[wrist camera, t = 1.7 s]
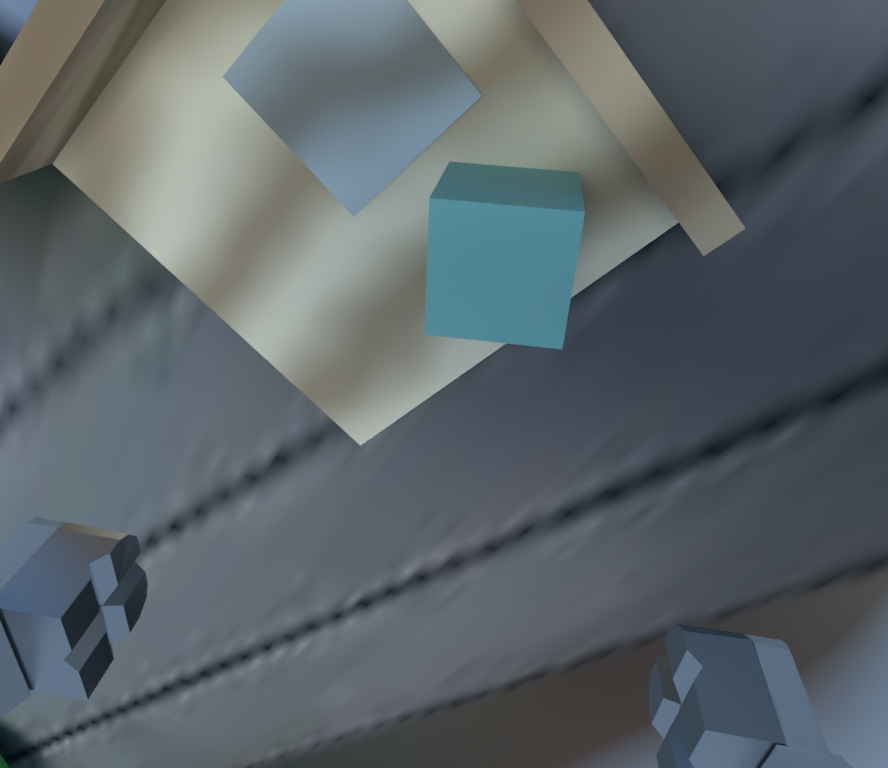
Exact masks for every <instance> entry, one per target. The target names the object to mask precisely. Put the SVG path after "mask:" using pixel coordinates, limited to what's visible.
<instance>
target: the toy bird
mask: <svg viewBox="0 0 888 768" xmlns="http://www.w3.org/2000/svg"><path fill="white" fill-rule="evenodd" d="M0 768H9V766H8V764H7V763H6V761H5V760H4V758H3V757H2V756H1V755H0Z"/></svg>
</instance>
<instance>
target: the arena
mask: <svg viewBox="0 0 888 768" xmlns="http://www.w3.org/2000/svg"><path fill="white" fill-rule="evenodd" d="M449 161H450V162H462V163H474V164H486V165H498V166H510V167H522V168H535V169H547V170H559V171H571V172H579V173H580V180H581V187H582V194H583V201H584V207H585V216H584V222H583V228H582V234H581V240H580V246H579V252H578V258H577V264H576V270H575V276H574V282H573V288H572V294H571V298H572V297H573V296H574V295H576V294H577V293H579V292H580V291H582V290H583V289H584V288H586V287H587V286H589V285H590V284H592V283H593V282H594V281H596V280H597V279H599V278H600V277H601V276H603V275H604V274H606V273H607V272H609V271H610V270H611V269H613V268H614V267H616V266H617V265H619V264H620V263H621V262H623V261H624V260H626V259H627V258H629V257H630V256H631V255H633V254H634V253H636V252H637V251H639V250H640V249H641V248H643V247H644V246H646V245H647V244H649V243H650V242H651V241H653V240H654V239H656V238H657V237H658V236H660V235H661V234H663V233H664V232H666V231H667V230H668V229H670V228H671V227H673V226H674V225H676V224H677V223H678V222H679V223H680V225H681V226H682V227H683V229H684V230H685V231H686V233H687V234H688V236H689V237H690V238H691V240H692V241H693V242H694V244H695V245H696V246H697V248H698V249H699V251H700V252H701V253H702V255H703V256H705V255H706V254H708V253H709V252H711V251H712V250H714V249H715V248H717V247H718V246H720V245H721V244H723V243H725V242H726V241H728V240H729V239H731V238H732V237H734V236H735V235H737V234H738V233H740V232H741V231H743V230H744V229H746V228H745V227H744V225H743V224H742V222H741V221H740V220H739V218H738V217H737V215H736V214H735V212H734V211H733V209H732V208H731V207H730V205H729V204H728V202H727V201H726V199H725V198H724V196H723V195H722V194H721V192H720V191H719V189H718V188H717V186H716V185H715V183H714V182H713V181H712V179H711V178H710V176H709V175H708V173H707V172H706V170H705V169H704V168H703V166H702V165H701V163H700V162H699V160H698V159H697V157H696V156H695V155H694V153H693V152H692V150H691V149H690V147H689V146H688V144H687V143H686V142H685V140H684V139H683V137H682V136H681V134H680V133H679V131H678V130H677V129H676V127H675V126H674V124H673V123H672V121H671V120H670V118H669V117H668V116H667V114H666V113H665V111H664V110H663V108H662V107H661V105H660V104H659V103H658V101H657V100H656V98H655V97H654V95H653V94H652V92H651V91H650V90H649V88H648V87H647V85H646V84H645V82H644V81H643V79H642V78H641V77H640V75H639V74H638V72H637V71H636V69H635V68H634V66H633V65H632V64H631V62H630V61H629V59H628V58H627V56H626V55H625V53H624V52H623V51H622V49H621V48H620V46H619V45H618V43H617V42H616V40H615V39H614V38H613V36H612V35H611V33H610V32H609V30H608V29H607V27H606V26H605V25H604V23H603V22H602V20H601V19H600V17H599V16H598V14H597V13H596V12H595V10H594V9H593V7H592V6H591V4H590V3H589V1H588V0H39V1H38V2H37V4H36V6H35V8H34V9H33V11H32V13H31V14H30V16H29V18H28V20H27V21H26V23H25V25H24V26H23V28H22V30H21V32H20V33H19V35H18V37H17V38H16V40H15V42H14V43H13V45H12V47H11V49H10V50H9V52H8V54H7V55H6V57H5V59H4V61H3V62H2V64H1V66H0V183H2V182H4V181H7V180H10V179H12V178H15V177H18V176H20V175H23V174H26V173H29V172H31V171H34V170H37V169H39V168H42V167H45V166H47V165H50V164H53V165H54V166H56V167H57V168H58V169H59V170H60V171H61V172H62V173H63V174H64V175H65V176H66V177H68V178H69V179H70V180H71V181H72V182H73V183H74V184H75V185H76V186H77V187H78V188H80V189H81V190H82V191H83V192H84V193H85V194H86V195H87V196H88V197H89V198H90V199H92V200H93V201H94V202H95V203H96V204H97V205H98V206H99V207H100V208H101V209H103V210H104V211H105V212H106V213H107V214H108V215H109V216H110V217H111V218H112V219H113V220H115V221H116V222H117V223H118V224H119V225H120V226H121V227H122V228H123V229H124V230H125V231H127V232H128V233H129V234H130V235H131V236H132V237H133V238H134V239H135V240H136V241H137V242H139V243H140V244H141V245H142V246H143V247H144V248H145V249H146V250H147V251H148V252H149V253H151V254H152V255H153V256H154V257H155V258H156V259H157V260H158V261H159V262H160V263H162V264H163V265H164V266H165V267H166V268H167V269H168V270H169V271H170V272H171V273H172V274H174V275H175V276H176V277H177V278H178V279H179V280H180V281H181V282H182V283H183V284H184V285H186V286H187V287H188V288H189V289H190V290H191V291H192V292H193V293H194V294H195V295H196V296H198V297H199V298H200V299H201V300H202V301H203V302H204V303H205V304H206V305H207V306H209V307H210V308H211V309H212V310H213V311H214V312H215V313H216V314H217V315H218V316H219V317H221V318H222V319H223V320H224V321H225V322H226V323H227V324H228V325H229V326H230V327H231V328H233V329H234V330H235V331H236V332H237V333H238V334H239V335H240V336H241V337H242V338H243V339H245V340H246V341H247V342H248V343H249V344H250V345H251V346H252V347H253V348H254V349H255V350H257V351H258V352H259V353H260V354H261V355H262V356H263V357H264V358H265V359H266V360H268V361H269V362H270V363H271V364H272V365H273V366H274V367H275V368H276V369H277V370H278V371H280V372H281V373H282V374H283V375H284V376H285V377H286V378H287V379H288V380H289V381H290V382H292V383H293V384H294V385H295V386H296V387H297V388H298V389H299V390H300V391H301V392H302V393H304V394H305V395H306V396H307V397H308V398H309V399H310V400H311V401H312V402H313V403H314V404H316V405H317V406H318V407H319V408H320V409H321V410H322V411H323V412H324V413H325V414H327V415H328V416H329V417H330V418H331V419H332V420H333V421H334V422H335V423H336V424H337V425H339V426H340V427H341V428H342V429H343V430H344V431H345V432H346V433H347V434H348V435H349V436H351V437H352V438H353V439H354V440H355V441H356V442H357V443H358V444H359V445H360V446H361V445H362V444H363V443H365V442H366V441H368V440H369V439H371V438H372V437H373V436H375V435H376V434H378V433H379V432H381V431H382V430H383V429H385V428H386V427H388V426H389V425H391V424H392V423H393V422H395V421H396V420H398V419H399V418H401V417H402V416H403V415H405V414H406V413H408V412H409V411H411V410H412V409H413V408H415V407H416V406H418V405H419V404H420V403H422V402H423V401H425V400H426V399H428V398H429V397H430V396H432V395H433V394H435V393H436V392H438V391H439V390H440V389H442V388H443V387H445V386H446V385H448V384H449V383H450V382H452V381H453V380H455V379H456V378H458V377H459V376H460V375H462V374H463V373H465V372H466V371H468V370H469V369H470V368H472V367H473V366H475V365H476V364H477V363H479V362H480V361H482V360H483V359H485V358H486V357H487V356H489V355H490V354H492V353H493V352H495V351H496V350H497V349H499V348H500V347H502V346H503V345H505V344H506V343H497V342H488V341H479V340H469V339H460V338H451V337H442V336H432V335H425V306H426V277H427V249H428V220H429V198H430V196H431V194H432V192H433V190H434V189H435V187H436V185H437V183H438V181H439V180H440V178H441V176H442V174H443V172H444V171H445V169H446V167H447V165H448V163H449Z"/></svg>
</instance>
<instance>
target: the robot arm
mask: <svg viewBox="0 0 888 768" xmlns="http://www.w3.org/2000/svg"><path fill="white" fill-rule="evenodd" d="M140 552H141V550H140V547H139V543H138V540H137V536H133V535H129V534H124V533H119V532H114V531H109V530H103V529H98V528H93V527H88V526H83V525H78V524H72V523H66V522H61V521H55V520H49V519H44V518H38V517H37V518H35V519H33V520H31V521H28V522H26V523H25V524H24V525H23V526H22V527H21V528H20V529H19V530H18V531H17V532H16V533H15V534H14V535H13V536H12V537H11V538H10V539H9V540H8V541H7V542H6V543H5V544H4V545H3V547H2V548H1V549H0V717H2V716H3V715H4V714H6V713H7V712H8V711H10V710H11V709H13V708H14V707H15V706H17V705H18V704H19V703H21V702H22V701H23V700H25V699H26V698H27V697H29V696H30V695H31V693H30V691H31V692H38V693H45V694H52V695H58V696H65V697H72V698H78V699H85V700H88V699H89V697H90V696H91V694H92V693H93V691H94V690H95V688H96V686H97V685H98V683H99V682H100V680H101V679H102V677H103V675H104V674H105V672H106V671H107V669H108V668H109V666H110V664H111V663H112V661H113V660H114V657H113V649H112V644H113V643H115V642H117V641H118V640H120V639H121V638H123V637H125V636H126V635H128V634H130V632H131V631H132V629H133V627H134V626H135V624H136V622H137V621H138V619H139V617H140V615H141V612H142V609H143V606H144V603H145V600H146V597H147V578H146V573H145V571H144V570H143V569H142V568H141V567H140V566H139V565H138V564H137V563H136V562H135V560H136V558H137V557H138V555H139V554H140ZM665 640H666V645H667V651H668V652H667V653H665V654H663V655H661V656H659V657H658V658H657V659H656V662H655V664H654V667H653V669H652V672H651V679H650V687H649V707H650V714H651V721H652V724H653V726H654V727H655V728H656V729H657V731H658V732H659V733H660V735H661V736H662V737H663V739H664V740H663V742H662V745H661V747H660V749H659V751H658V753H657V760H658V766H659V768H852V767H851V766H850V765H849V764H848V763H847V762H846V761H845V760H844V759H843V758H842V757H841V756H838V755H833V754H830V753H829V751H828V748H827V745H826V743H825V741H824V738H823V735H822V733H821V730H820V728H819V725H818V722H817V720H816V717H815V714H814V712H813V709H812V707H811V705H810V702H809V699H808V696H807V694H806V691H805V689H804V686H803V684H802V681H801V679H800V676H799V673H798V671H797V668H796V665H795V663H794V660H793V658H792V655H791V653H790V650H789V648H788V646H787V645H786V644H785V643H784V642H783V641H782V640H776V639H770V638H763V637H757V636H751V635H743V634H742V633H737V632H730V631H723V630H717V629H710V628H703V627H697V626H690V625H684V624H677V623H676V624H675V625H673V626H672V627H671V628H670V630H669V632H668V634H667V636H666V638H665Z"/></svg>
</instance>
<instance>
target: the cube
mask: <svg viewBox="0 0 888 768" xmlns="http://www.w3.org/2000/svg"><path fill="white" fill-rule="evenodd" d="M584 216H585V207H584V201H583V194H582V187H581V180H580V173H579V172H571V171H559V170H547V169H535V168H522V167H510V166H498V165H486V164H474V163H462V162H450V161H449V163H448V165H447V167H446V169H445V171H444V172H443V174H442V176H441V178H440V180H439V181H438V183H437V185H436V187H435V189H434V190H433V192H432V194H431V196H430V198H429V220H428V249H427V277H426V306H425V335H432V336H442V337H451V338H460V339H469V340H479V341H488V342H497V343H507V344H516V345H525V346H534V347H544V348H553V349H562V348H563V342H564V336H565V330H566V324H567V318H568V312H569V306H570V300H571V294H572V288H573V282H574V276H575V270H576V264H577V258H578V252H579V246H580V240H581V234H582V228H583V222H584Z"/></svg>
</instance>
